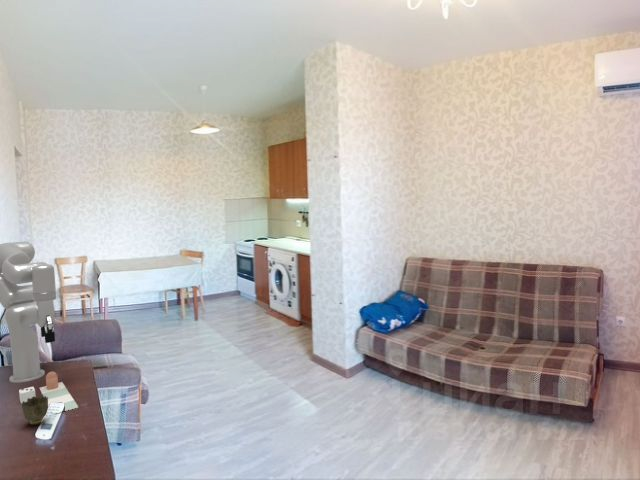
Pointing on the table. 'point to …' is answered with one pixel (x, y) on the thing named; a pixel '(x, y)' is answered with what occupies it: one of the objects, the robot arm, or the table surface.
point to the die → (26, 394)
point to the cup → (35, 409)
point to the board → (59, 396)
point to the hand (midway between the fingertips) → (48, 339)
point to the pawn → (51, 381)
